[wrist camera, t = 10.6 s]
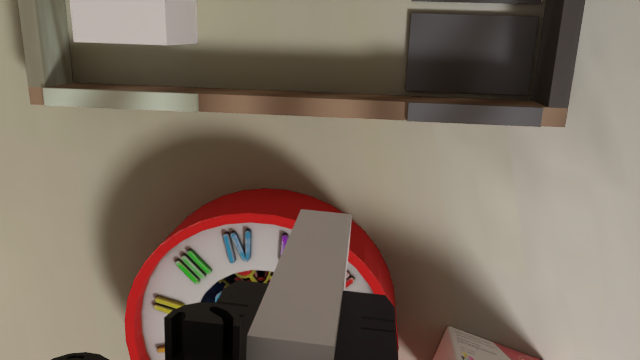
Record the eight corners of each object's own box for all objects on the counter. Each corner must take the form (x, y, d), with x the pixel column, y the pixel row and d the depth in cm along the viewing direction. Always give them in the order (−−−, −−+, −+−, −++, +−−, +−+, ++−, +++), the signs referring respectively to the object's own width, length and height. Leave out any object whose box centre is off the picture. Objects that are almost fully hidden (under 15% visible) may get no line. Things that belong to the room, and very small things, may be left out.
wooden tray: (581, -110, 32) (607, -128, 29) (547, 118, 36) (566, 127, 33) (36, -113, 35) (-2, -130, 32) (59, 98, 39) (27, 104, 36)
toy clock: (458, 363, 36) (255, 498, 41) (446, 319, 42) (269, 442, 47) (262, 152, 33) (70, 325, 38) (278, 135, 39) (108, 287, 44)
